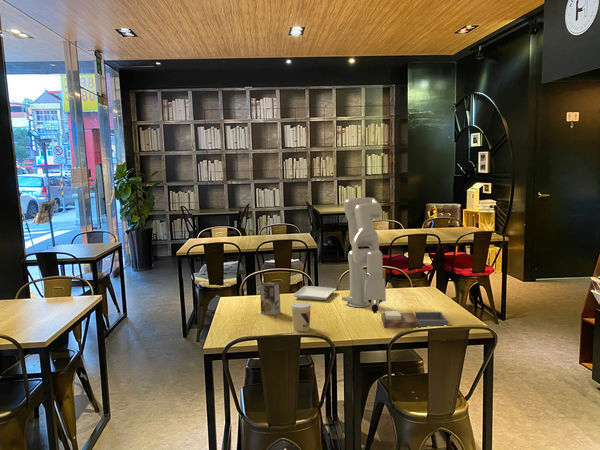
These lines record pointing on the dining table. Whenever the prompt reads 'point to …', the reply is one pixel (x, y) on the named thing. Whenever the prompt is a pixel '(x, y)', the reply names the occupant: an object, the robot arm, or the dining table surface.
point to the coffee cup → (301, 316)
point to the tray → (430, 319)
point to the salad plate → (314, 293)
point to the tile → (393, 315)
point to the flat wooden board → (400, 321)
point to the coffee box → (270, 298)
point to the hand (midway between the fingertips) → (375, 312)
